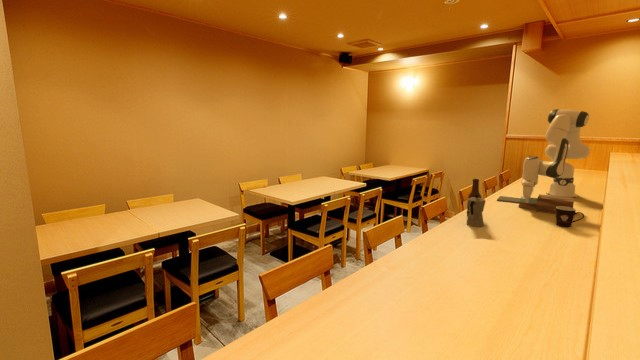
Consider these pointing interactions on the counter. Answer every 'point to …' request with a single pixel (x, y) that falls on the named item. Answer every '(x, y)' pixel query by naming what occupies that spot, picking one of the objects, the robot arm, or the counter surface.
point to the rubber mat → (508, 199)
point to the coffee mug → (565, 216)
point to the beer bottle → (474, 191)
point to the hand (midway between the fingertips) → (527, 201)
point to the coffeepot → (475, 211)
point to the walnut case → (548, 203)
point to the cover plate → (531, 200)
